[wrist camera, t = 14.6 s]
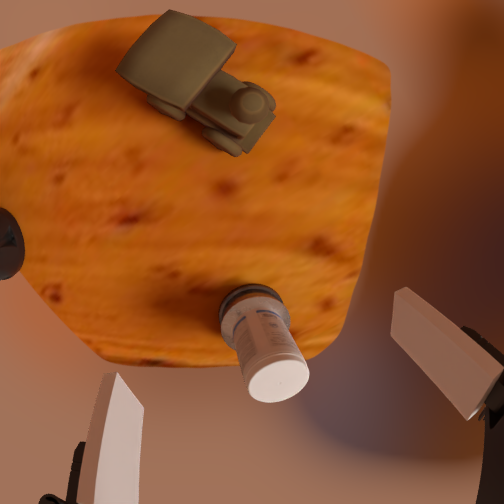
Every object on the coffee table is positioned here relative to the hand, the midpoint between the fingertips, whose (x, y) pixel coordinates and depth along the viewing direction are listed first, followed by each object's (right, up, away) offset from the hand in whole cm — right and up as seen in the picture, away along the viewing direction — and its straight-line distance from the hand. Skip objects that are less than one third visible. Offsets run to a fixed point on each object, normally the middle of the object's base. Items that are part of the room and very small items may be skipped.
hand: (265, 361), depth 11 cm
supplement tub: (0, -9, +38) cm, 39 cm away
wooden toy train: (-8, +29, +28) cm, 41 cm away
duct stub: (-1, -7, +42) cm, 43 cm away
